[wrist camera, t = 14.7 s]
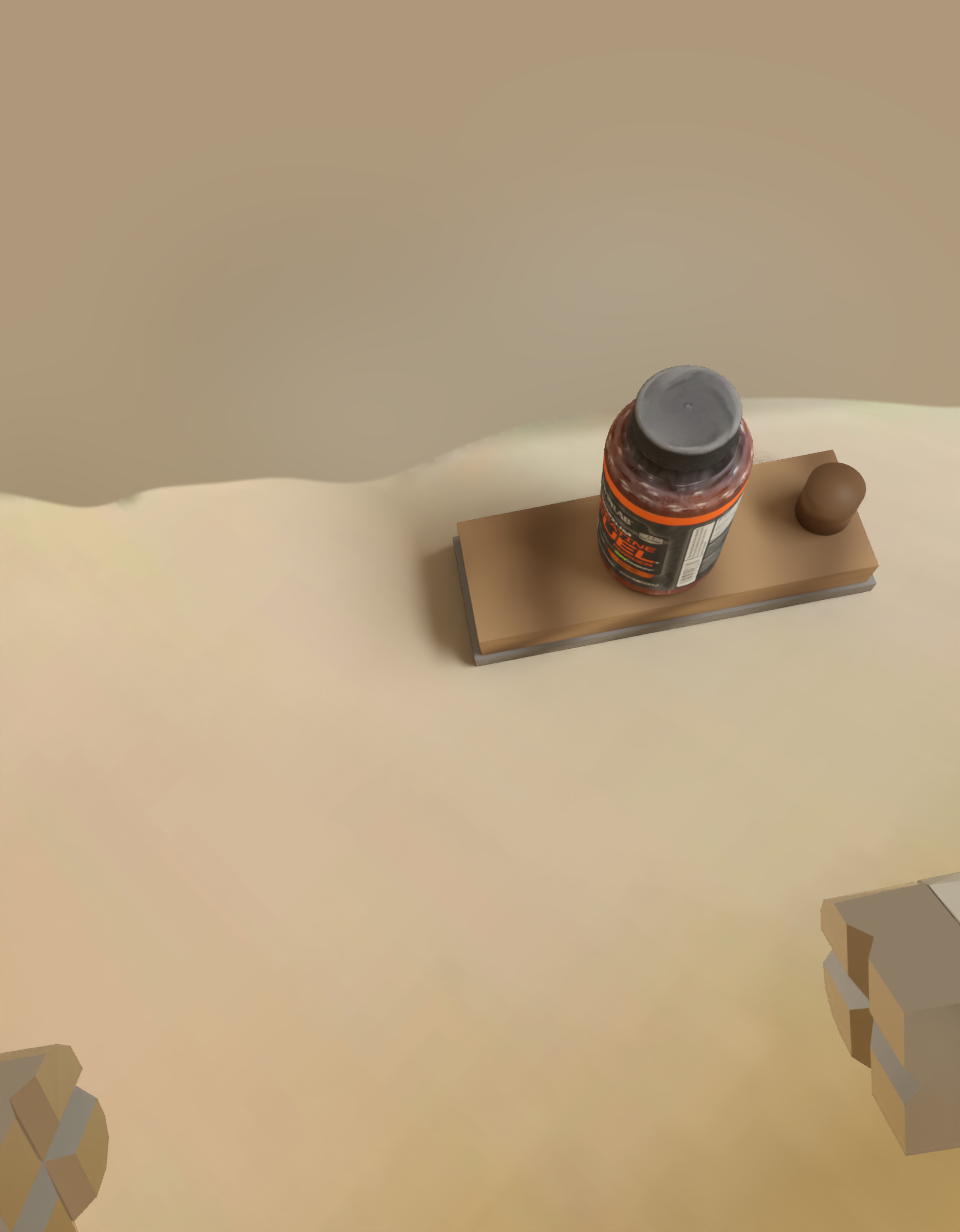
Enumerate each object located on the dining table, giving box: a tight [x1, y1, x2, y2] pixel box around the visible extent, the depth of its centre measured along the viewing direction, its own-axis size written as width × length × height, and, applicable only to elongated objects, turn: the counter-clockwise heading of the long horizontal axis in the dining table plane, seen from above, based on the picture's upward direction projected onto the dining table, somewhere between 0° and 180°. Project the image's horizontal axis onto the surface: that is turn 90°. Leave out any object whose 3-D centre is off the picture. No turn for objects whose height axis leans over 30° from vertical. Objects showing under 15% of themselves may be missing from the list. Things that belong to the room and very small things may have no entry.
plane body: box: [453, 450, 879, 666], centre depth 43 cm, size 20×7×5 cm, turn 100°
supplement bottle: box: [597, 365, 754, 596], centre depth 38 cm, size 6×6×11 cm
